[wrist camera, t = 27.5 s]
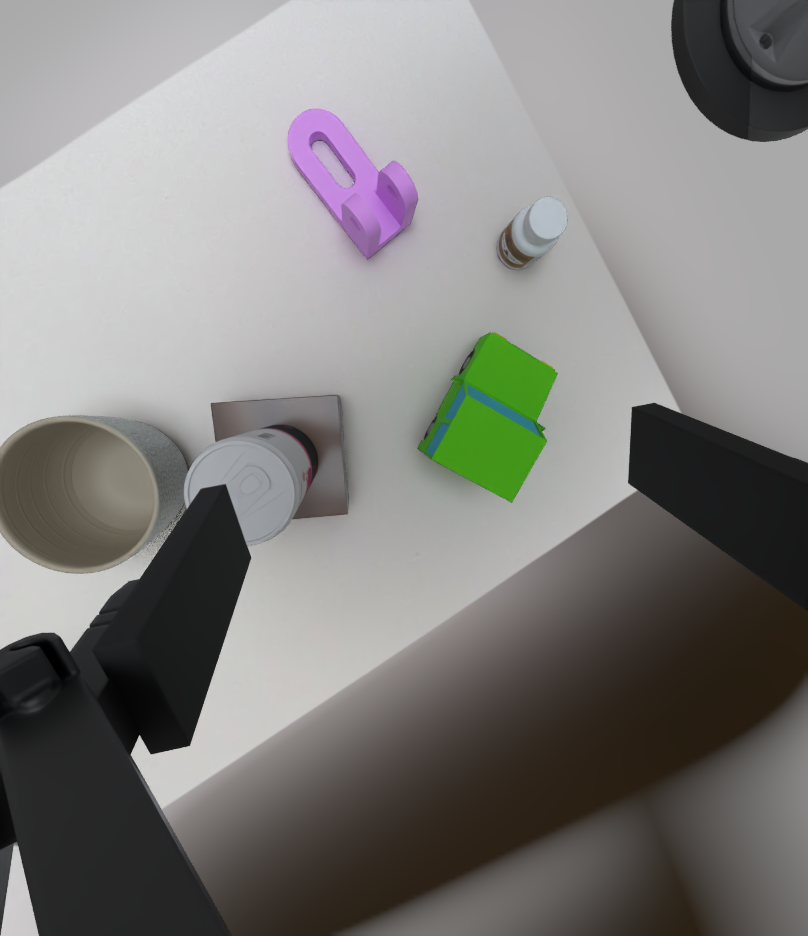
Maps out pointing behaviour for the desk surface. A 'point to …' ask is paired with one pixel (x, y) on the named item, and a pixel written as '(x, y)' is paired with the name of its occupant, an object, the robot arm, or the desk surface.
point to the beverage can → (258, 477)
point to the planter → (87, 490)
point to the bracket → (370, 198)
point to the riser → (314, 420)
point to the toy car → (492, 417)
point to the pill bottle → (532, 233)
